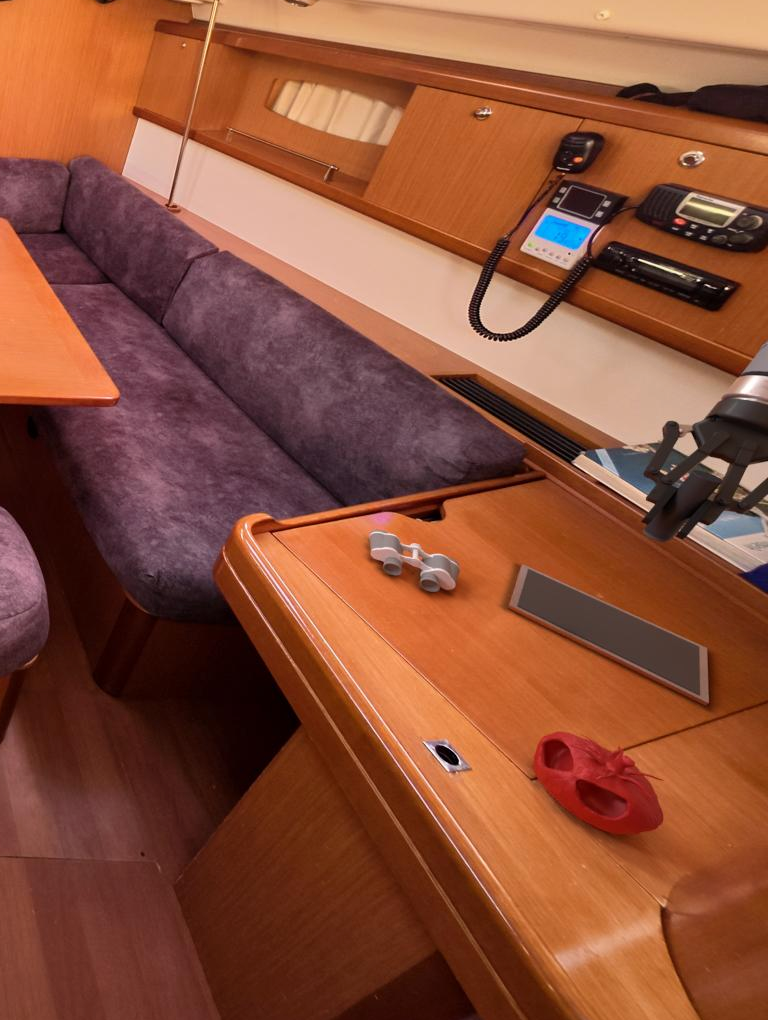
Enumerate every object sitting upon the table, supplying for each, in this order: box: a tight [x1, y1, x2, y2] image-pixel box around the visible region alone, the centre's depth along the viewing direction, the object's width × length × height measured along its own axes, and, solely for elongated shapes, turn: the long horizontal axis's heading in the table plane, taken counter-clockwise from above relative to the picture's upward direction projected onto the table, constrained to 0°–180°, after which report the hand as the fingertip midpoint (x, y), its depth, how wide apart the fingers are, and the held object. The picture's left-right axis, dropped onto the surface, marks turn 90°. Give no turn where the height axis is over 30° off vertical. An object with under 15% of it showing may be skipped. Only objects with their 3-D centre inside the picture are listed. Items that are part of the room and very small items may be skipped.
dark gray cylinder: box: [642, 469, 723, 544], centre depth 97 cm, size 3×3×13 cm
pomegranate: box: [532, 730, 665, 835], centre depth 74 cm, size 10×10×9 cm
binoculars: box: [368, 529, 461, 593], centre depth 107 cm, size 12×8×4 cm, turn 47°
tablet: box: [507, 563, 710, 707], centre depth 98 cm, size 20×14×1 cm
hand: (663, 528), depth 96 cm, fingers closed on dark gray cylinder, 3 cm apart
